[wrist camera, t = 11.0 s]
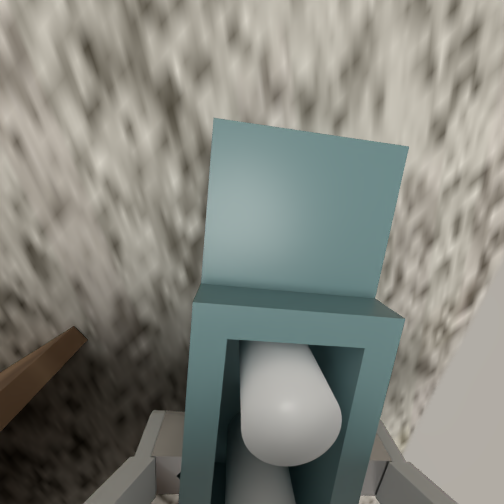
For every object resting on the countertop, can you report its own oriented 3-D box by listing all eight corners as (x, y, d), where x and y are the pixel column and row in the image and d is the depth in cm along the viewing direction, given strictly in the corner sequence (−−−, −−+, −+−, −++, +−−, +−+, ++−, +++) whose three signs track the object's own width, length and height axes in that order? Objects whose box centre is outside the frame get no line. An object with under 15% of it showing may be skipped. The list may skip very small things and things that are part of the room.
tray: (297, 466, 14) (338, 637, 8) (194, 464, 13) (165, 645, 8) (353, 165, 11) (477, 123, 5) (221, 147, 10) (203, 79, 5)
